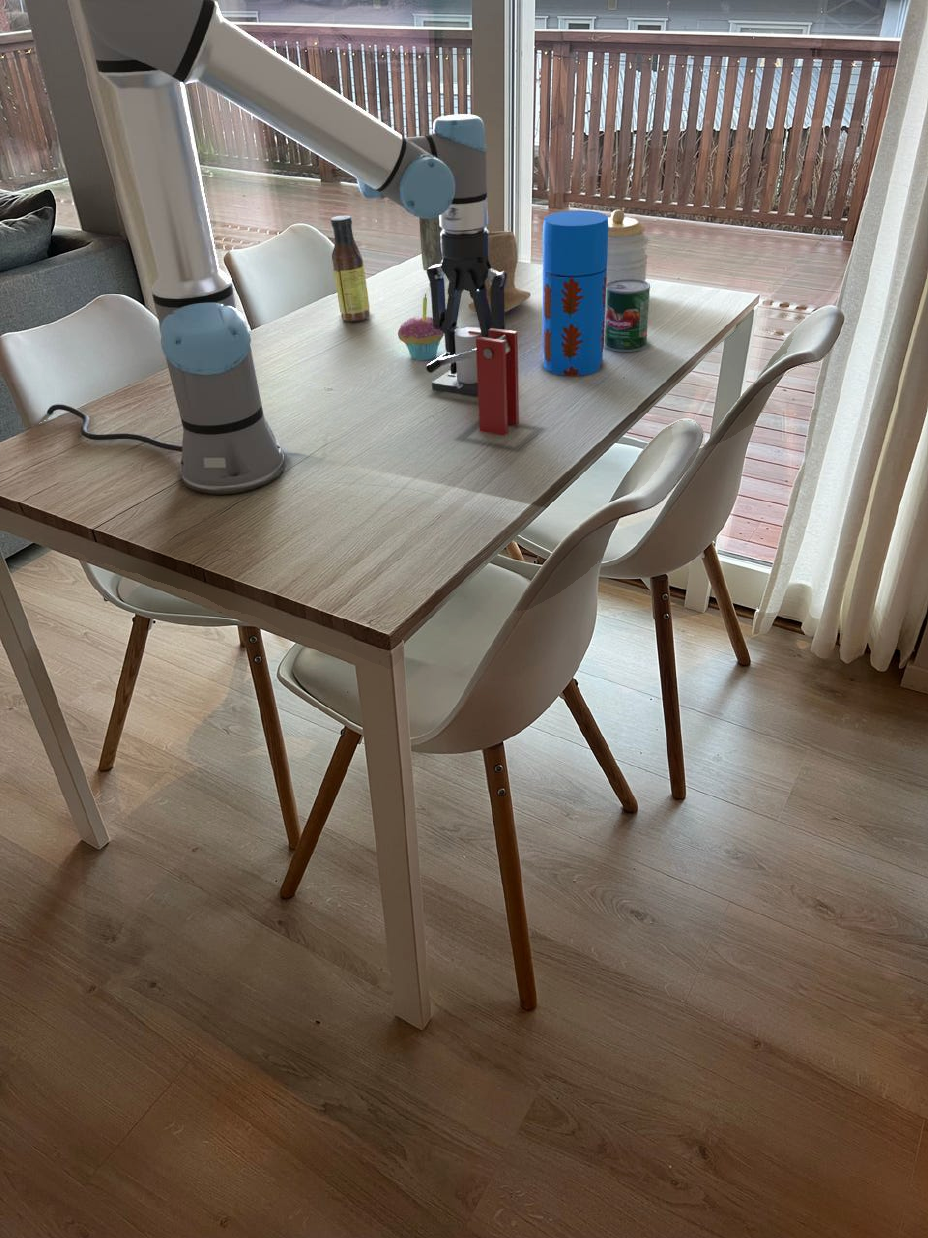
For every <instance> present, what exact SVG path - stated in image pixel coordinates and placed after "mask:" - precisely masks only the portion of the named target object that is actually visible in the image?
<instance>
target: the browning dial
mask: <svg viewBox="0 0 928 1238" xmlns="http://www.w3.org/2000/svg"><path fill="white" fill-rule="evenodd" d="M478 337H482V334H481V330H480V327H475V326H472V327H471V326H468V327H467V326H466V327H462V328H459V329H458V328H457V329H455V350H456V354H458V353H461V352H465V351H469V350H472V349H476V338H478ZM456 368H457V380H458V381H459V382H461V383H465V384H475V383H478V380H477V357H474V358H470V359H466V360H462V361H458V362H456Z"/></svg>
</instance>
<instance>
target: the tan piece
mask: <svg viewBox="0 0 928 1238" xmlns="http://www.w3.org/2000/svg"><path fill="white" fill-rule="evenodd" d="M517 245H518V244H517V239H516V236H515V234H514V233H513V231H510V230H504V231H489V255H488V259H489V262H490V264H491V268H492V269H494V270H496V271H498V272H500V273H501V272H503V271H504V272H506V274H507V278H506V282H505V285H504V305H505V313H506V312H509V311H511V310H512V309H514V308H516V307H517V306H520V305H521V304H522V303H524V302H525V301H527V300H528V299H529V298H530V297H531V295H532V294H531V292H529V291H526V290H524V289H523V290H522V289H519V288H517V287H516V285H515V278H516V269H517V266H518V246H517ZM489 281H490V279H489V277H487V279H486V280H485V285H486V289H487V292H486V295H487V300H488V304H489V308H490V312H491V296H490V290H491V285H490V284H489ZM467 308H468V309H470V310H471V311H472V312H473V313H475V314H476V310H475V306H474V302H473V300H471V301H470V302H469V303H468V304H467Z"/></svg>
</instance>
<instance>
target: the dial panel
mask: <svg viewBox="0 0 928 1238" xmlns="http://www.w3.org/2000/svg"><path fill="white" fill-rule="evenodd" d="M431 390H432V391H439V392H444V393H450V394H455V395H462V396H469V397H473V398H478V383H475V384H465V383H461V382H459V381H458V380H457V373H456V374H451V368H450V369H449V370H448V371H446V372H445V373H443V374H442V375H440V376H439V377H437V378H436V379H435V380H433V381H431Z"/></svg>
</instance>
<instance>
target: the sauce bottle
mask: <svg viewBox="0 0 928 1238" xmlns="http://www.w3.org/2000/svg"><path fill="white" fill-rule="evenodd" d="M330 224H331V226H332V229H333V236H334V238H333V240H334V246H333V247H334V248H333V249H332V253H331V261H332V267H333V275H334V282H335V287H336V294H337V300H338V308H339V312H340V317H341V319H342V320H343V321H346V322H360V321H365V320H367V319H368V318H369V317H370V315H371V311H370V302H369V301H370V300H369V292H368V286H367V280H366V273H365V265H364V259H363V256H362V254H361V251H360V250H359V247H358V245H357V243H356V241H355V238H354V233H353V227H352V225H353V220H352V217H351V216H350V215H337V216H333V217H332V218H330Z"/></svg>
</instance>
